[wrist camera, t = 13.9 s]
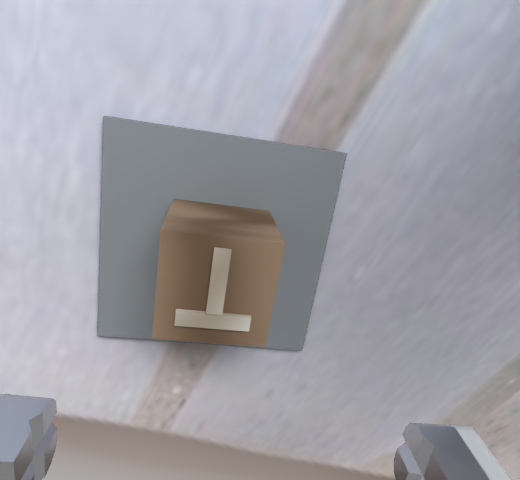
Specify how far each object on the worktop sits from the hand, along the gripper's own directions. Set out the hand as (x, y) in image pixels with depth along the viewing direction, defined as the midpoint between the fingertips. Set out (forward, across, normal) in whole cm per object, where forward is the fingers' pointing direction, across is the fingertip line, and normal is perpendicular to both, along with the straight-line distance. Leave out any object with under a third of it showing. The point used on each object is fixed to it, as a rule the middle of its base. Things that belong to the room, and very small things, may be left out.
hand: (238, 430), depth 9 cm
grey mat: (+13, +1, +1) cm, 13 cm away
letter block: (+13, +1, +1) cm, 13 cm away
